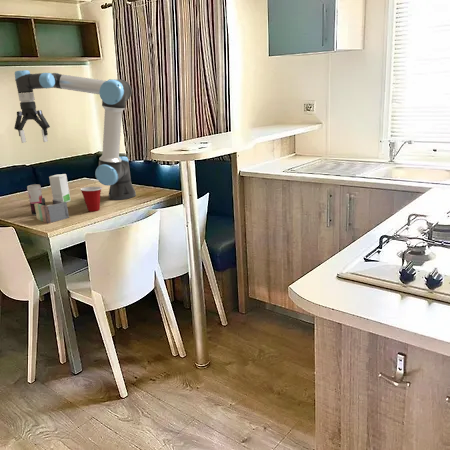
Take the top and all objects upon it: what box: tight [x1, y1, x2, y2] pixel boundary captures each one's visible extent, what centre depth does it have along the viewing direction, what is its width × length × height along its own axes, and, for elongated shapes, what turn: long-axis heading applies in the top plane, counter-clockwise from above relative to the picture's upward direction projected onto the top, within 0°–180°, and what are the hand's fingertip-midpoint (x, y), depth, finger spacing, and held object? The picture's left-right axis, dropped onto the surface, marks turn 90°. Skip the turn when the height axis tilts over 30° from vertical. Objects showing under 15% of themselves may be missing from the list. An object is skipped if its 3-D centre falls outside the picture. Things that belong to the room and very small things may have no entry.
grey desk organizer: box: [34, 198, 70, 224], centre depth 235 cm, size 12×11×8 cm
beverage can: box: [26, 183, 44, 216], centre depth 245 cm, size 6×6×15 cm
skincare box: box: [48, 173, 72, 203], centre depth 266 cm, size 8×7×16 cm
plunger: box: [41, 197, 51, 206], centre depth 236 cm, size 10×6×10 cm, turn 45°
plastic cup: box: [80, 186, 103, 213], centre depth 245 cm, size 11×11×12 cm
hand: (34, 142), depth 255 cm, fingers open, 13 cm apart
